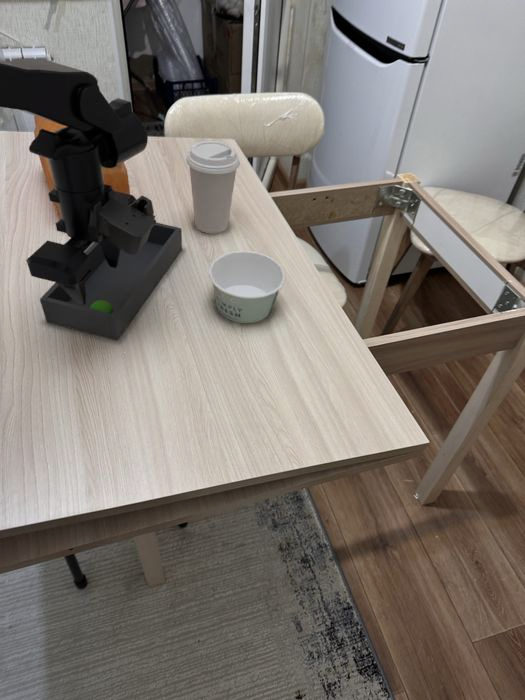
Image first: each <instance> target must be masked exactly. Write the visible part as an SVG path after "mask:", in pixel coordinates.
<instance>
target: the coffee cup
mask: <svg viewBox="0 0 525 700" xmlns="http://www.w3.org/2000/svg"><path fill="white" fill-rule="evenodd" d="M185 161H186V164H187V165H188V167H189V175H190V176H189V177H190V185H191V186H190V187H191V195H192V207H193V218H194V225H195V228H196V229H197V230H198V231H200V232H202V233H204V234H209V235H210V234H212V235H216V234H220V233H223V232H225V231H227V229H228V228H229V222H230V216H231V215H230V214H231V207H232V201H233V193H234V187H235V181H236V180H235V179H236V175H237V170H238V169H239V168H240V165H241V164H240V158H239V156H238V154H237V151H236V149H235V147H233V146H232V145H230V144H229V143H226V142H223V141H218V140H201V141H198V142H195V143H193V144H192V146H191V147H190V150H189V152H188V153H187V155H186V159H185Z"/></svg>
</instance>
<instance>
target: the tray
mask: <svg viewBox="0 0 525 700" xmlns="http://www.w3.org/2000/svg"><path fill="white" fill-rule="evenodd" d="M182 238H183V237H182V228H181V227H177V226H173V225H169V224H165V223H160V222H156V223H155V225H154V226H153V227H152V229H151V231H150V234H149V237H148V240H147V242H146V243H145V244H144V245H143V246H142V247H141V249H140V250H139V252H138V253H137V254H134V255H131V254H128V253H126V252H124V250H123V249H121V250H120V255H119V260H118V265H117V267H116V268H113V267H110V266H109V264H108V262H107V261H106V259H105V256H104V254H103V252H102V249H101V247H100V244H99V243H96V242H95V243H94V244H93V245H92V246H91V247H90V248H89V249H88V250H87V251H86V252H85V253H86V254H87V255H88V256H89V261H90V266H89V269H90V270H92V271H91V273H90V274H89V275H88V276H87V277H86V278H85V279H84V282H85V292H86V304H85V305H80V304H77V303H76V302H75V301H74V300H73V299H72V298H71V297H70V296H69V295H68V294H67V293H66V292H65V291H64V289H63V288H62V287H60V286H59V285H58V284H57V283H56V282H54V283H53V285H52V286H51V287H50V288H49V289H48V290H47V291H46V292H45V293H44V294H43V295H42V296H41V297H40V298H39V301H40V305H41V308H42V311H43V315H44V318H45V322H46V323H48V324H52V325H56V326H61V327H64V328H68V329H72V330H75V331H78V332H83V333H87V334H90V335H94V336H98V337H101V338H106V339H109V340H113V341H117V342H119V340H120V339H121V337H122V336H123V334H124V333H125V332H126V330H127V329H128V327H129V326H130V325H131V323H132V321H134V319H135V317H136V316H137V314H138V313H139V311H140V310H141V309H142V307H143V305H145V304H146V301H147V300H148V299H149V297H150V295H152V293H153V291H154V290H155V289H156V287H157V286H158V285H159V283H160V282H161V281H162V280H163V277H164V276H165V275H166V273H167V272H168V271H169V269H170V267H171V266H172V265H173V263H174V261H175V260H176V259H177V257H178V256H179V255H180V253H181V252H182V251H183V242H182V241H183V239H182ZM99 300H103V301H106V302H108V303H110V304H111V306H112V307H113V310H114V311H113V313H112V314H110V313H107V312H103V311H99V310H95V309H91V308H90V306H91V305H92V304H93V303H94V302H96V301H99Z"/></svg>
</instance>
